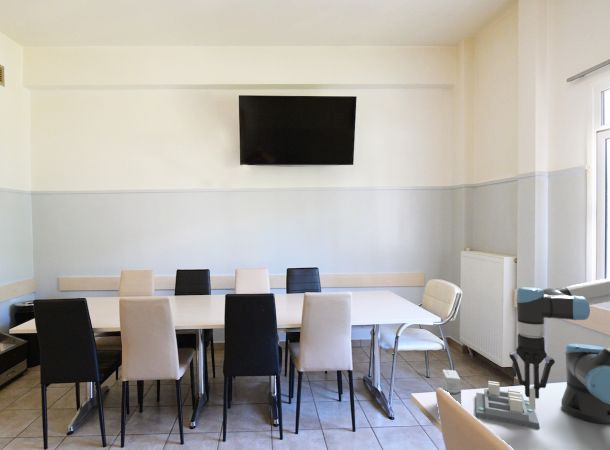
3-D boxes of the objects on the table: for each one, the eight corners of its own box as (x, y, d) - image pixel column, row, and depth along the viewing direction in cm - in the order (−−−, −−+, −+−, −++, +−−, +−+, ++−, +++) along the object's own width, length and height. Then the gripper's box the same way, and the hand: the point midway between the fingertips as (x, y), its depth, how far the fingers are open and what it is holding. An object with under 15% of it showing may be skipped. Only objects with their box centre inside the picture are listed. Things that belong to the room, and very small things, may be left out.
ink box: (462, 413, 124) (461, 378, 125) (447, 411, 125) (446, 377, 126) (456, 401, 133) (455, 369, 133) (442, 400, 134) (442, 369, 134)
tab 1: (499, 397, 132) (498, 382, 133) (499, 401, 129) (499, 385, 130) (488, 395, 134) (488, 380, 134) (489, 399, 131) (488, 383, 131)
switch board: (531, 405, 129) (531, 395, 129) (539, 428, 114) (538, 417, 114) (476, 396, 137) (476, 387, 137) (476, 416, 121) (476, 406, 122)
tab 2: (519, 406, 125) (519, 390, 125) (521, 411, 122) (520, 394, 122) (508, 405, 126) (507, 388, 126) (509, 409, 123) (508, 392, 124)
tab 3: (521, 414, 120) (521, 397, 120) (523, 418, 117) (522, 401, 117) (509, 411, 121) (509, 395, 122) (510, 416, 118) (510, 399, 119)
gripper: (552, 334, 119) (553, 406, 118) (507, 330, 124) (508, 398, 123) (556, 340, 112) (558, 416, 111) (509, 335, 117) (510, 408, 117)
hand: (532, 407), depth 117 cm, fingers closed
